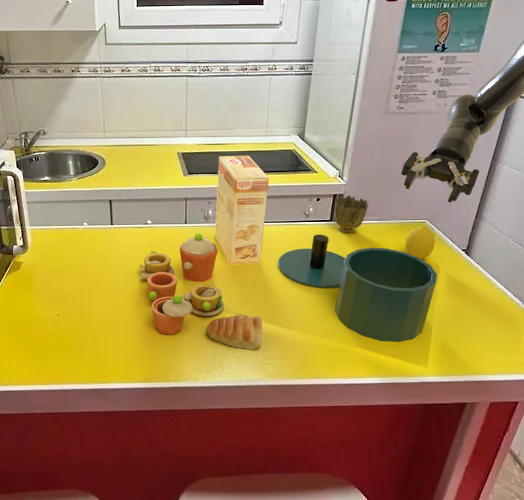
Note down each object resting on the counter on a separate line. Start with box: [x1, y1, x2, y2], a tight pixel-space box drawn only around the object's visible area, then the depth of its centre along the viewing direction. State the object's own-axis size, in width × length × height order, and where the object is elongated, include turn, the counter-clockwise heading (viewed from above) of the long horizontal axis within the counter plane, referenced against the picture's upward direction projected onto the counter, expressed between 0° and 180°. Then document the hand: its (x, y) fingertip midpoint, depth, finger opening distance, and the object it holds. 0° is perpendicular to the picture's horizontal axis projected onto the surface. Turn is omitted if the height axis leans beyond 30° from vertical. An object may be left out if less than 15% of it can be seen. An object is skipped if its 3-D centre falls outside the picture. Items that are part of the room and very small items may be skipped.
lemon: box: [404, 225, 436, 260], centre depth 110 cm, size 6×6×8 cm
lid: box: [277, 234, 346, 289], centre depth 106 cm, size 16×16×8 cm
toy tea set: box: [138, 232, 225, 335], centre depth 96 cm, size 26×16×10 cm, turn 7°
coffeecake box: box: [214, 155, 270, 266], centre depth 111 cm, size 15×7×20 cm, turn 8°
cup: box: [334, 195, 369, 235], centre depth 122 cm, size 8×7×8 cm
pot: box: [334, 247, 438, 343], centre depth 90 cm, size 15×15×10 cm
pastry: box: [206, 314, 263, 350], centre depth 87 cm, size 9×7×4 cm
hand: (428, 192), depth 107 cm, fingers open, 8 cm apart
